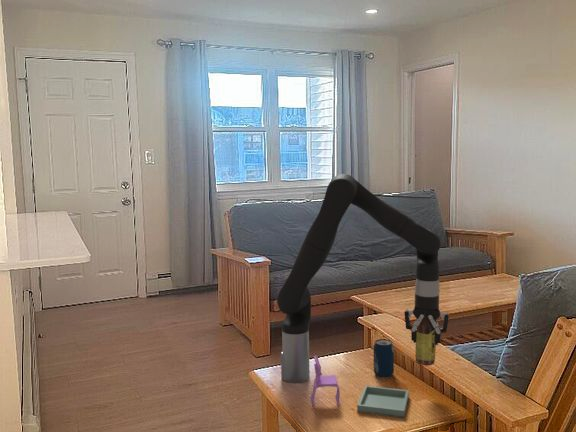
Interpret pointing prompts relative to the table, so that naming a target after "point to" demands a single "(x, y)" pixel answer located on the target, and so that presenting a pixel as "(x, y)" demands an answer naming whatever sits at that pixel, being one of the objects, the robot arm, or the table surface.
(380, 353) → the soda can
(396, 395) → the tray
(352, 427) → the table surface
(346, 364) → the table surface
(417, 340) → the sauce bottle
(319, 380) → the chair
